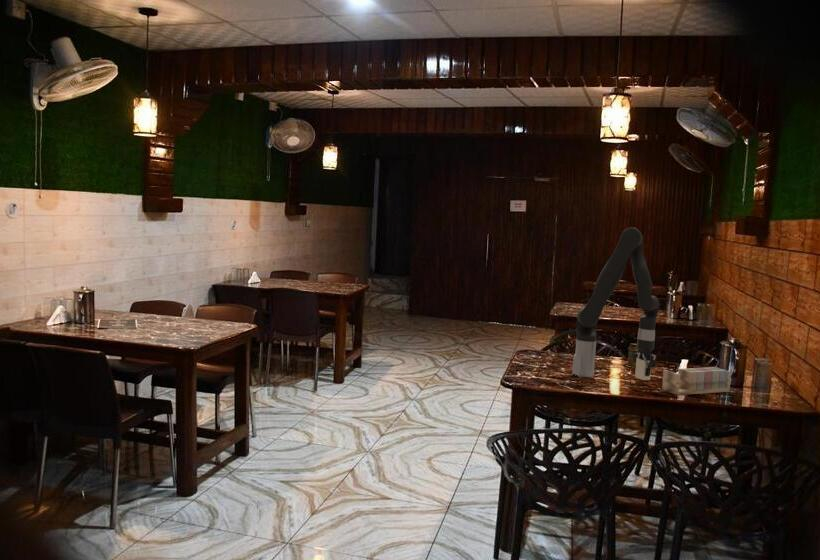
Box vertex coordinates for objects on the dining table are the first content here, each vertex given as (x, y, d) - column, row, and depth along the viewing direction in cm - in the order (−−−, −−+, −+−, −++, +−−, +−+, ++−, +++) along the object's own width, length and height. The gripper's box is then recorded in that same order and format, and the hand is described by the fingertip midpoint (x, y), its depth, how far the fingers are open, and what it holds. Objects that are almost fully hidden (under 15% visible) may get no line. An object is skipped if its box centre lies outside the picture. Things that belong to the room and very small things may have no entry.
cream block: (643, 380, 300) (644, 360, 299) (634, 377, 305) (636, 358, 304) (650, 379, 301) (651, 360, 301) (641, 377, 307) (643, 358, 306)
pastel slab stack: (729, 391, 293) (730, 370, 292) (676, 394, 282) (678, 373, 282) (713, 386, 301) (715, 366, 301) (661, 389, 291) (663, 368, 290)
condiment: (642, 368, 338) (644, 345, 337) (627, 367, 336) (629, 345, 335) (636, 365, 345) (637, 342, 344) (621, 364, 344) (622, 342, 343)
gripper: (629, 335, 307) (626, 371, 308) (650, 341, 294) (646, 378, 295) (642, 335, 310) (639, 370, 311) (663, 341, 296) (660, 377, 298)
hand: (642, 374), depth 303 cm, fingers closed on cream block, 5 cm apart
